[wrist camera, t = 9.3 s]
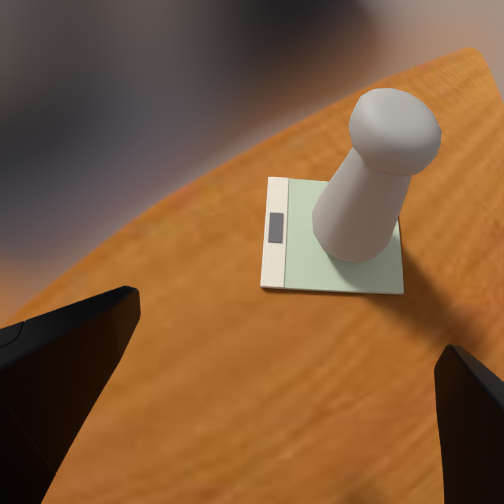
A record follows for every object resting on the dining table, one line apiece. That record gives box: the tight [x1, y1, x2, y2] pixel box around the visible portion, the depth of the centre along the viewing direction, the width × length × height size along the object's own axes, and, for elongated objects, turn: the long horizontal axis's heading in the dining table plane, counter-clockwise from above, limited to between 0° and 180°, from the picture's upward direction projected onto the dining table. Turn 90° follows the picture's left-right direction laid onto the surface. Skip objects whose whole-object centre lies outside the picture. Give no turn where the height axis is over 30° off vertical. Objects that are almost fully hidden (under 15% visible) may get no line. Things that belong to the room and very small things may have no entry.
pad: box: [260, 177, 404, 294], centre depth 24 cm, size 9×11×1 cm
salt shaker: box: [312, 88, 442, 263], centre depth 18 cm, size 6×6×13 cm
